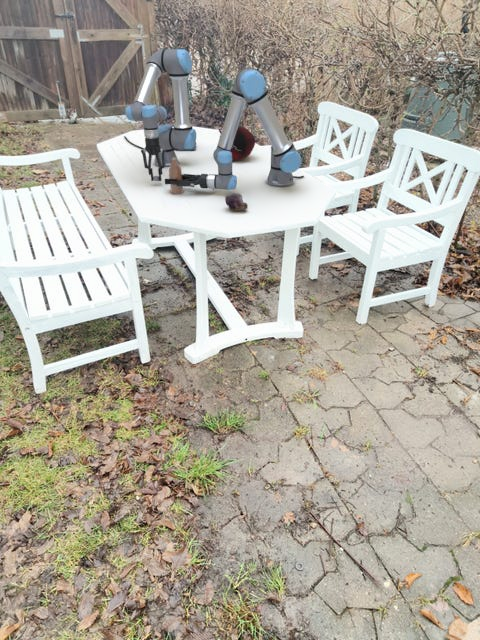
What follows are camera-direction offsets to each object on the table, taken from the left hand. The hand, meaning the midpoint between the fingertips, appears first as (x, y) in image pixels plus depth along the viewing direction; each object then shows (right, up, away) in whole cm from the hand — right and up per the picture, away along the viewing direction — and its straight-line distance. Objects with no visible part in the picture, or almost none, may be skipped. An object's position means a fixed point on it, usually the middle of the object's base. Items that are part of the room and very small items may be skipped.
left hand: (156, 180), depth 257 cm
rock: (+46, -25, -31) cm, 61 cm away
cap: (0, +1, -1) cm, 2 cm away
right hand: (+8, -3, -11) cm, 14 cm away
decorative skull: (+46, +29, +47) cm, 72 cm away
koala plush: (+7, +45, +70) cm, 84 cm away
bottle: (+13, -9, -8) cm, 18 cm away
